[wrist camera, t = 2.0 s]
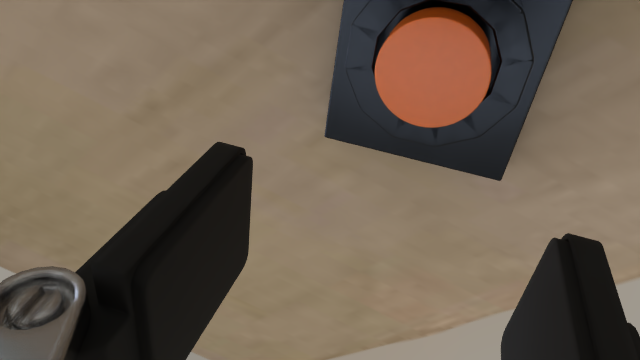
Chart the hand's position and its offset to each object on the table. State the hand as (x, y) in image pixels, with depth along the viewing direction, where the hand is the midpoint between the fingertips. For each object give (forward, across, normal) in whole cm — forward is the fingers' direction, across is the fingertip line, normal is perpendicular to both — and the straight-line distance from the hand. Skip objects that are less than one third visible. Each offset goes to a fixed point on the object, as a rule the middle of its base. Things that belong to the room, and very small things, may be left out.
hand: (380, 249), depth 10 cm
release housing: (+16, 0, 0) cm, 16 cm away
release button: (+12, 0, 0) cm, 12 cm away
